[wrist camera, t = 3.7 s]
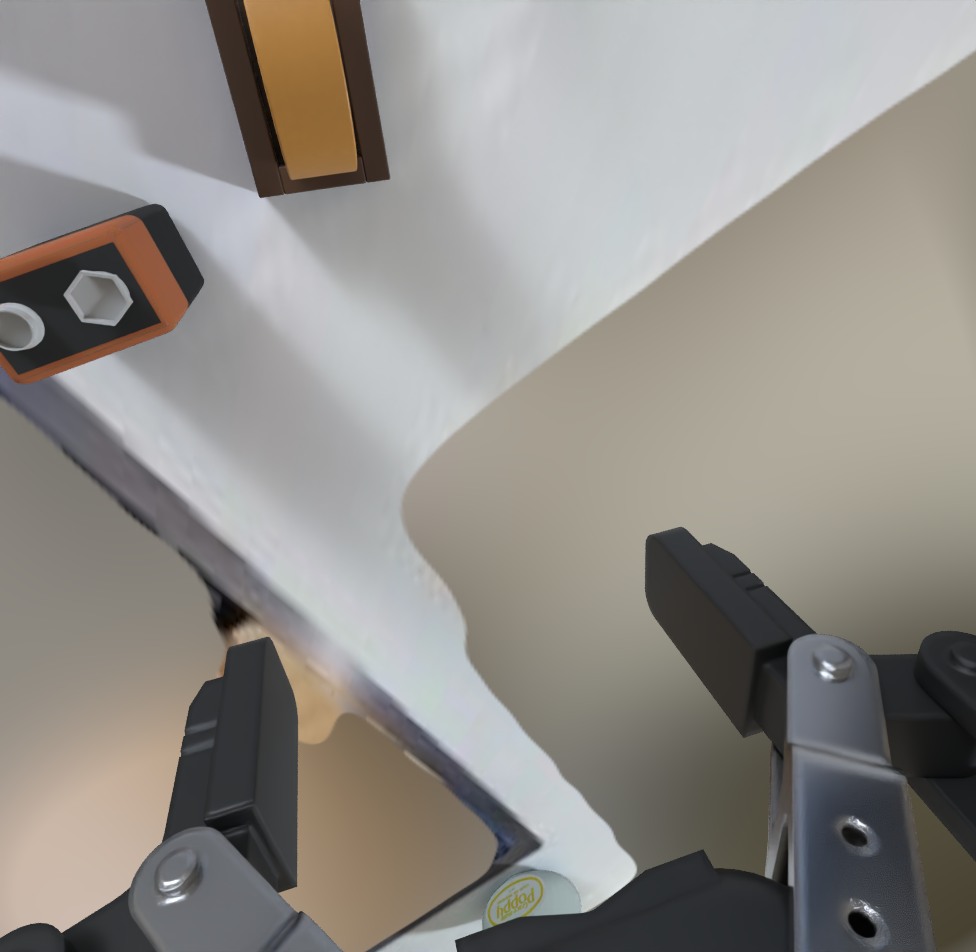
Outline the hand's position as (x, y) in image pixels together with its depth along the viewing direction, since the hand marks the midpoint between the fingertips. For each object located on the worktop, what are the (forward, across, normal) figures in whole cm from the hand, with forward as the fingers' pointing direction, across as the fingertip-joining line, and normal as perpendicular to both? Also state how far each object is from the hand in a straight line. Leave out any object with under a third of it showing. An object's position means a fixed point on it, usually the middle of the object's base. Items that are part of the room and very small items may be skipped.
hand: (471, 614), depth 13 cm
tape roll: (+26, 0, -12) cm, 29 cm away
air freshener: (+27, -3, +66) cm, 71 cm away
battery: (+27, +11, -4) cm, 29 cm away
